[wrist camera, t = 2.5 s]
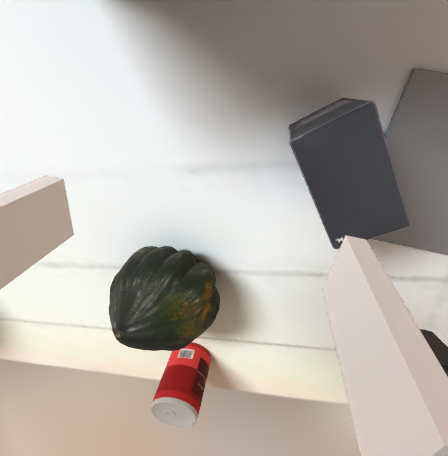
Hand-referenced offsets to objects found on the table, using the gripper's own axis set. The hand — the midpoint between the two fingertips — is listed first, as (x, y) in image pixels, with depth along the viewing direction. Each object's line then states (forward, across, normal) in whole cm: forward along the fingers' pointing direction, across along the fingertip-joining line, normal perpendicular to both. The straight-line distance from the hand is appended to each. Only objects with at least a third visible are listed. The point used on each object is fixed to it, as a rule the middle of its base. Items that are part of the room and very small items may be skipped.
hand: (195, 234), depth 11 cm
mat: (+22, +21, 0) cm, 31 cm away
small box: (+22, +10, 0) cm, 24 cm away
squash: (+22, -7, -22) cm, 32 cm away
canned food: (+22, -3, -42) cm, 48 cm away
